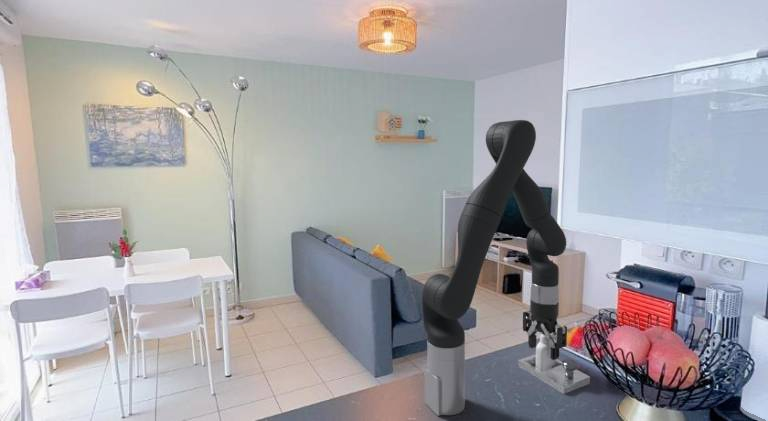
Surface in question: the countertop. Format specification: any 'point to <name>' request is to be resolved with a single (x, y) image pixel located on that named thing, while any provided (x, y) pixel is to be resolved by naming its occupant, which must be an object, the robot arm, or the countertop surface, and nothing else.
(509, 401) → the countertop surface
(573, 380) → the bolt plate
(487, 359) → the countertop surface
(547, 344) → the eye dropper bottle
